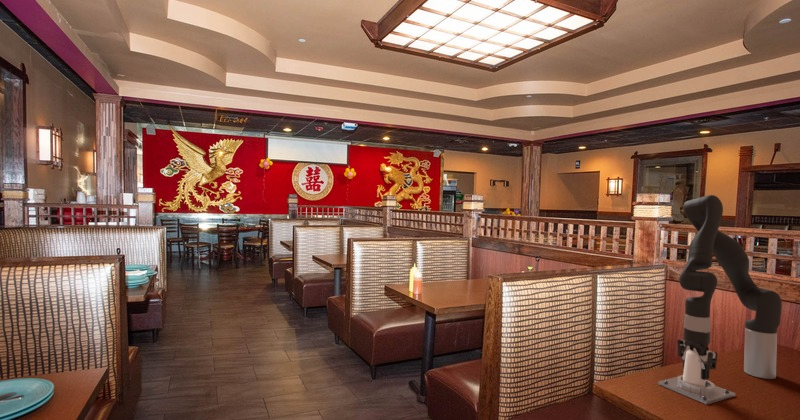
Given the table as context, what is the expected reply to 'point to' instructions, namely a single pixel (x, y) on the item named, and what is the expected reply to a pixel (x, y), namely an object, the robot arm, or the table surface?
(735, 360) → the table surface
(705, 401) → the duct flange
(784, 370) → the table surface
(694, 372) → the can
